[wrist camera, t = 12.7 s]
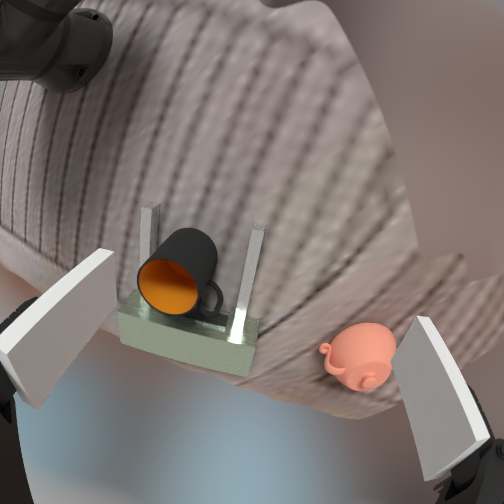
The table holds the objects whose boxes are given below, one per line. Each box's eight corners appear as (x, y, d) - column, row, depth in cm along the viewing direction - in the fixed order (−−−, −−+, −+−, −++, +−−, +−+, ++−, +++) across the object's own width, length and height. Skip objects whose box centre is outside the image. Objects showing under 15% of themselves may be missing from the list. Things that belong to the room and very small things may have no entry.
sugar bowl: (373, 368, 49) (384, 408, 40) (307, 360, 49) (309, 403, 40) (401, 319, 44) (420, 359, 35) (329, 307, 44) (338, 350, 35)
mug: (209, 302, 46) (192, 344, 37) (155, 250, 43) (125, 283, 34) (246, 273, 43) (236, 314, 34) (189, 216, 40) (161, 243, 31)
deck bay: (136, 199, 40) (112, 212, 34) (282, 228, 40) (282, 248, 33) (136, 319, 50) (120, 342, 43) (251, 348, 49) (247, 377, 43)
